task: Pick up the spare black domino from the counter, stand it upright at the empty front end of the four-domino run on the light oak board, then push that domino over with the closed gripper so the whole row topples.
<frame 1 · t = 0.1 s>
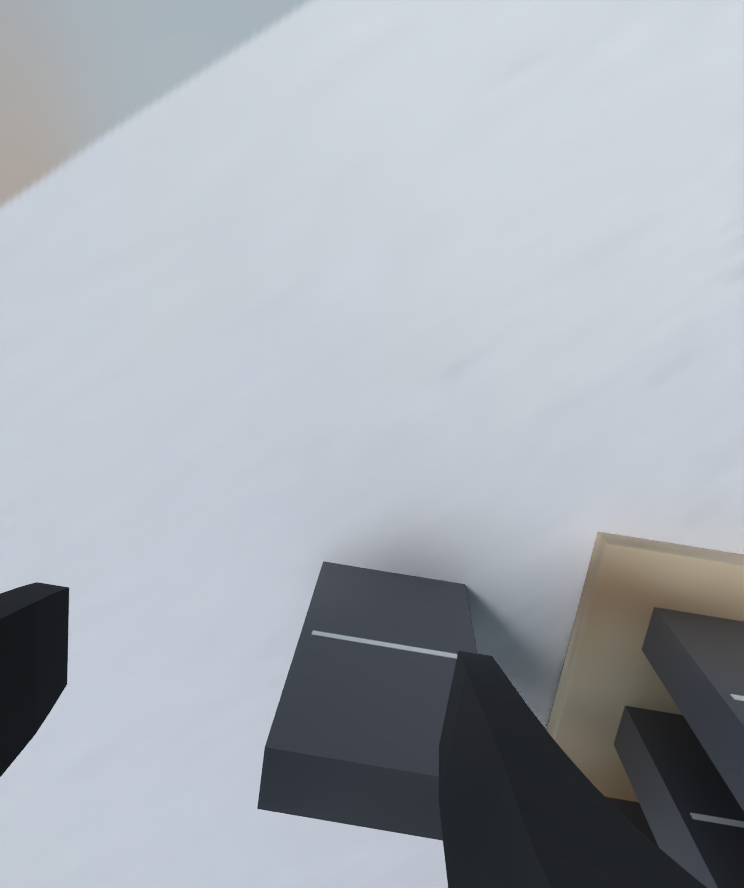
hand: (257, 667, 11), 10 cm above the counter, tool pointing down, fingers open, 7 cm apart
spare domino: (390, 593, 22), on the counter
board: (650, 807, 23), on the counter
domino 5: (723, 640, 20), point 1 cm above the counter, touching board
domino 4: (691, 737, 21), point 1 cm above the counter, touching board
domino 3: (662, 825, 22), point 1 cm above the counter, touching board
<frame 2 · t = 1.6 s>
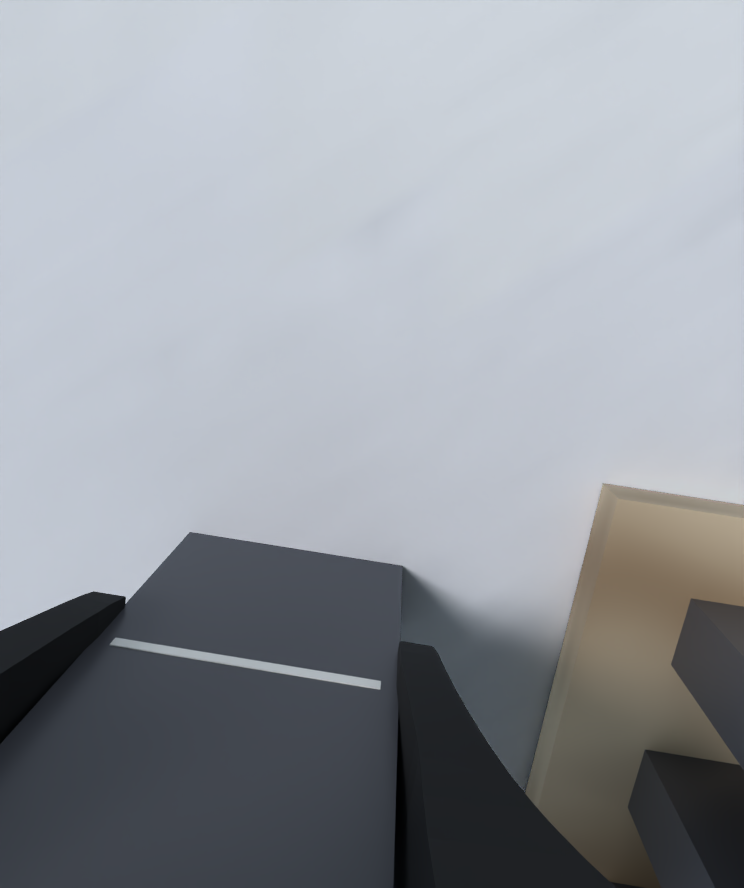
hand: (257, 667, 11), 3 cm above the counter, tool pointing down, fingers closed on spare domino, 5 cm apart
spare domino: (292, 580, 15), on the counter, touching gripper
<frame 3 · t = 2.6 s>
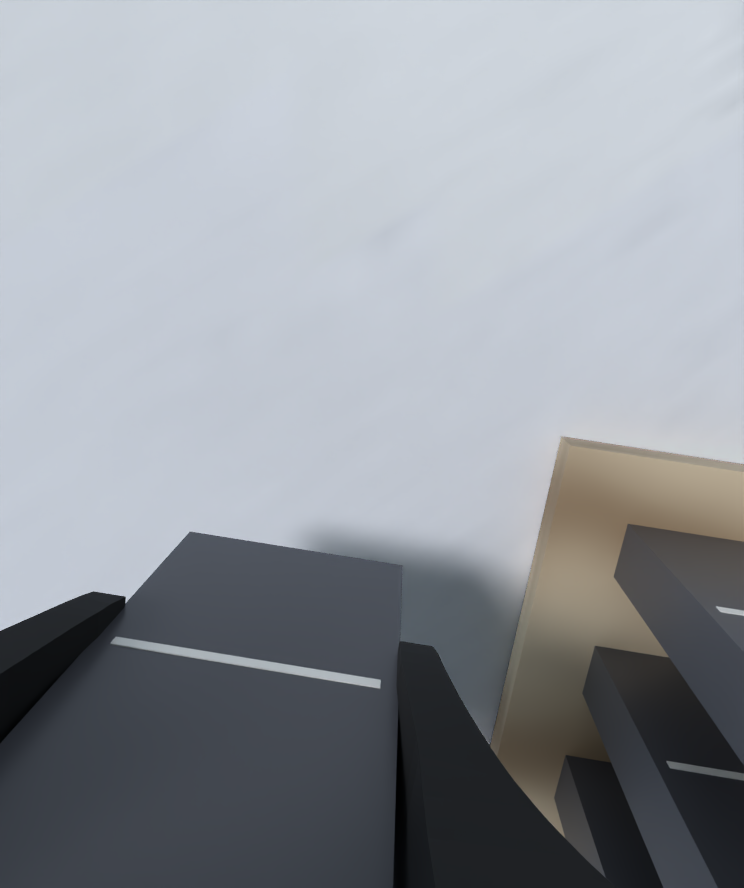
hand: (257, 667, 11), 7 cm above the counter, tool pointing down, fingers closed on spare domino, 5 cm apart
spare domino: (292, 579, 15), point 4 cm above the counter, touching gripper
board: (628, 770, 20), on the counter
domino 5: (711, 564, 17), point 1 cm above the counter, touching board
domino 4: (674, 683, 18), point 1 cm above the counter, touching board
domino 3: (641, 790, 19), point 1 cm above the counter, touching board
when the fingers open (10 cm above the counter, at t = 4.0 s): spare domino stays where it is, resting on domino 2.
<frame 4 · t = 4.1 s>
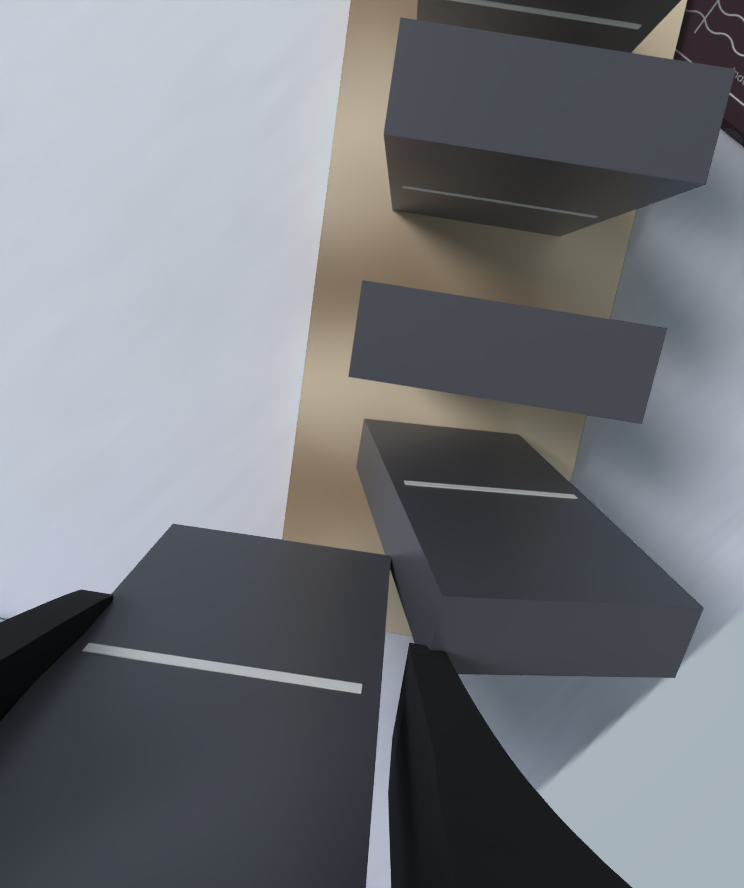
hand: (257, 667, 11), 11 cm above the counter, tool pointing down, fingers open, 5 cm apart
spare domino: (278, 570, 14), point 7 cm above the counter, touching domino 2, gripper
domino 2: (438, 450, 19), point 2 cm above the counter, tilted 14°, touching board, gripper, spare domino
board: (453, 330, 20), on the counter
domino 5: (508, 49, 17), point 1 cm above the counter, touching board
domino 4: (481, 194, 18), point 1 cm above the counter, touching board
domino 3: (457, 325, 19), point 1 cm above the counter, touching board
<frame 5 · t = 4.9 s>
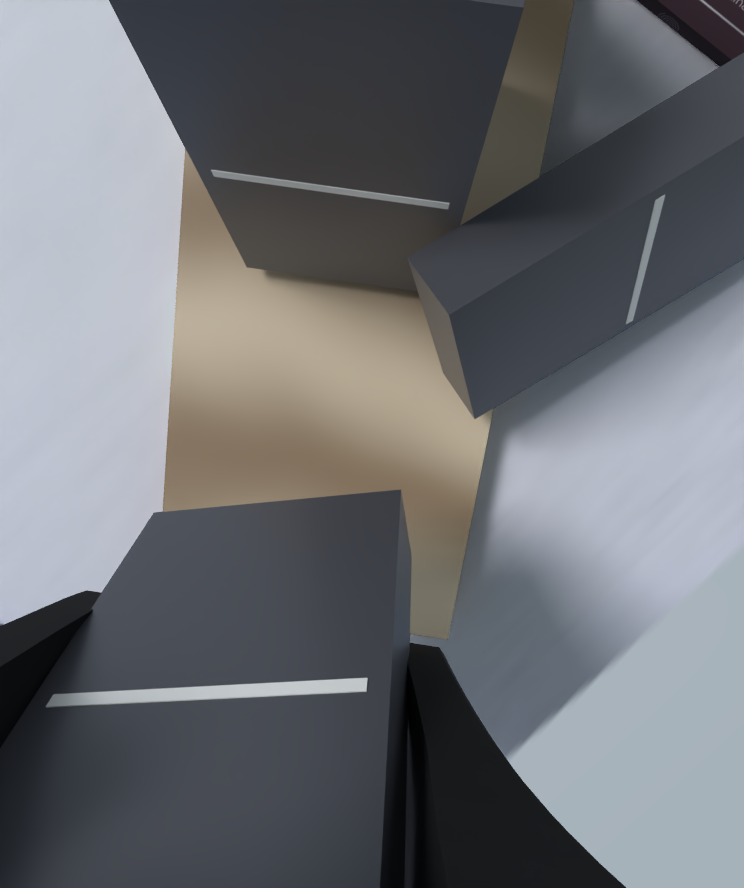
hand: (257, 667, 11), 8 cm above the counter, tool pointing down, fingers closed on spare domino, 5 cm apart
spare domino: (283, 534, 12), point 6 cm above the counter, tilted 15°, touching gripper
domino 2: (445, 349, 14), point 4 cm above the counter, tilted 98°, touching board
board: (351, 263, 17), on the counter
domino 3: (347, 251, 16), point 1 cm above the counter, tilted 21°, touching board, domino 4
when the fingers open (5 cm above the counter, at t = 5.9 s): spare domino drops 2 cm, resting on board.
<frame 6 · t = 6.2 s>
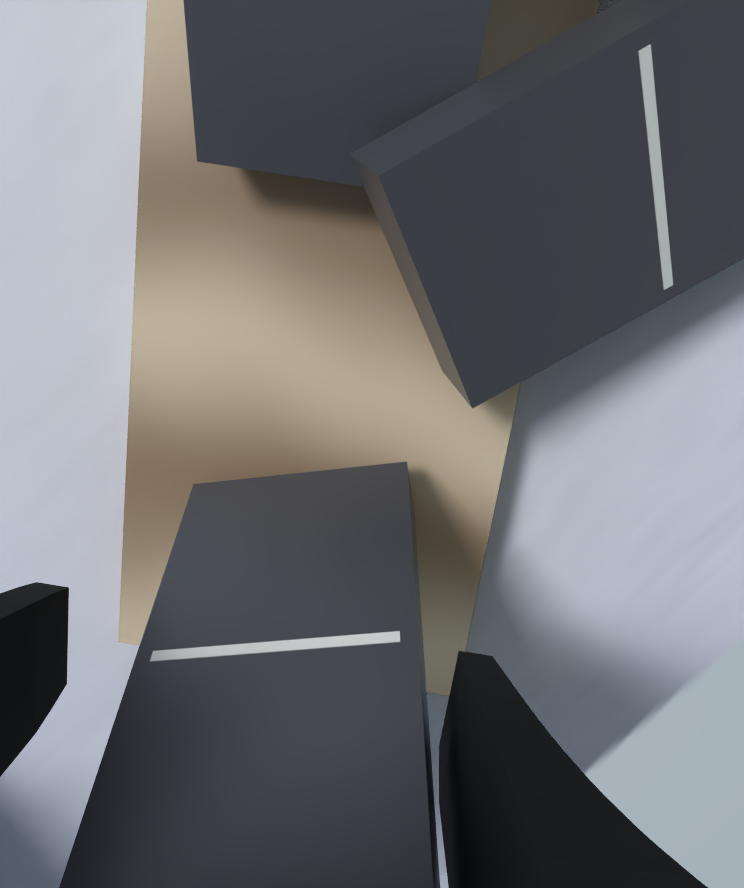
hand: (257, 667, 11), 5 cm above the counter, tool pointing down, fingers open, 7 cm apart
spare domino: (305, 497, 15), point 1 cm above the counter, tilted 25°, touching board, gripper
domino 2: (416, 292, 12), point 3 cm above the counter, tilted 99°, touching board, domino 3
board: (342, 258, 15), on the counter
domino 3: (331, 166, 13), point 2 cm above the counter, tilted 62°, touching board, domino 2, domino 4
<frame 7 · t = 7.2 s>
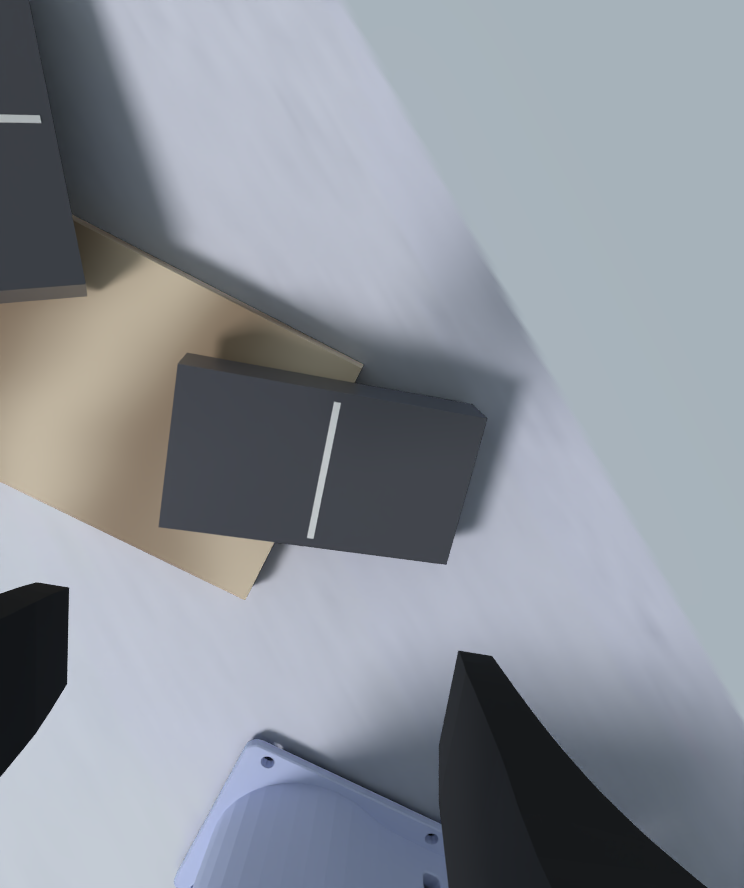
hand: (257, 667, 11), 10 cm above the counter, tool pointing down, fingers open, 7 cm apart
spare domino: (172, 439, 18), point 3 cm above the counter, tilted 101°, touching board
board: (22, 340, 21), on the counter
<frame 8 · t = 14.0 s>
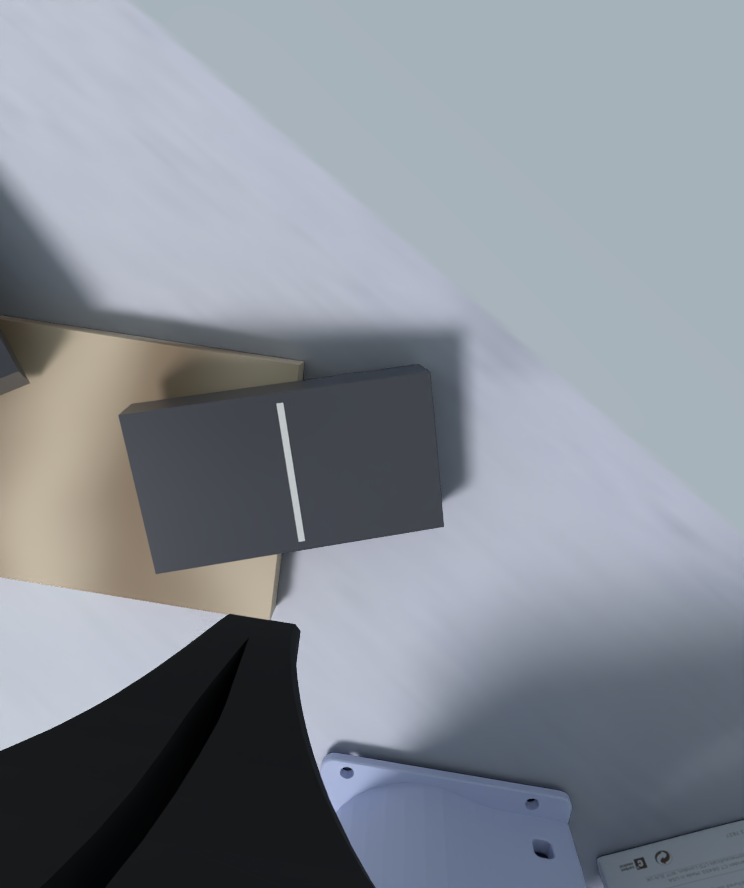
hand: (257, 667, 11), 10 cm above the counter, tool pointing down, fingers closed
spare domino: (143, 488, 19), point 3 cm above the counter, tilted 101°, touching board
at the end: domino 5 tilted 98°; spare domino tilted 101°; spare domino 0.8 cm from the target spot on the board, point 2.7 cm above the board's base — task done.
